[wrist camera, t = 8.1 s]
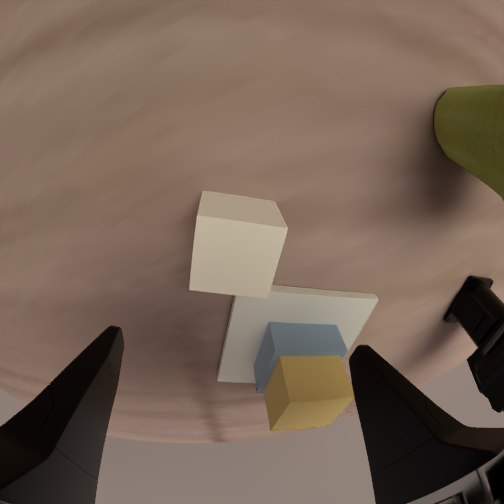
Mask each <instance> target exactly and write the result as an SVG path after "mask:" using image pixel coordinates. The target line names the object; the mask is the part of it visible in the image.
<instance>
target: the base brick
mask: <svg viewBox="0 0 504 504" xmlns="http://www.w3.org/2000/svg"><path fill="white" fill-rule="evenodd" d="M347 351H348V350H347V348H346V345H345V343H344V341H343V338H342V336H341V334H340V332H339V329H338V327H337V325H330V324H302V323H283V322H269V324H268V327H267V330H266V332H265V335H264V338H263V341H262V344H261V347H260V349H259V352H258V355H257V358H256V360H255V363H254V366H253V367H254V375H255V383H256V390H257V393H265V392H264V390H265V388H266V386H267V384H268V382H269V379H270V377H271V375H272V373H273V371H274V368H275V366H276V364H277V362H278V360H279V357H280V356H338V355H340V357H341V360H342V359H343V357H344V356H345V354H346V353H347Z"/></svg>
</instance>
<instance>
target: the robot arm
mask: <svg viewBox="0 0 504 504" xmlns="http://www.w3.org/2000/svg"><path fill="white" fill-rule="evenodd" d="M492 284H493V280H492V279H489V278H483V277H477V276H470V277H469V278H468V280H467V281H466V283H465V285H464V287H463V288H462V290H461V292H460V294H459V295H458V297H457V299H456V300H455V302H454V303H453V305H452V307H451V308H450V310H449V311H448V313H447V314H446V316H445V317H444V321H445V323H451V322H459V323H460V324H461V326H462V327H463V328H464V330H465V331H466V332H467V334H468V335H469V336H470V338H471V339H472V340H473V342H474V343H475V345H476V346H477V347H478V348H477V349H476V351H475V352H474V353H473V354H472V355H471V356H469V358H468V359H467V361H468V364H469V367H470V370H471V372H472V374H473V377H474V379H475V382H476V384H477V387H478V389H479V391H480V393H482V394H483V395H484V396H485V397H487V398H488V399H489V401H490V404H491V406H492V409H493V410H495V411H497V412H501V411H504V303H503V302H502V301H501V300H500V299H499V298H498V297H497V296H496V295H495V294H494V293H493V292H492V290H491V289H490V287H491V286H492ZM123 350H124V340H123V334H122V329H121V328H120V327H116V326H109V327H108V328H107V329H106V330H105V331H104V332H102V333H101V334H100V335H99V336H98V337H97V338H96V339H95V340H94V341H93V342H92V343H91V344H90V345H89V346H88V347H87V348H86V349H85V350H83V351H82V352H81V353H80V354H79V355H78V356H77V357H76V358H75V359H74V360H73V361H72V362H71V363H70V364H69V365H68V366H67V367H66V368H65V369H64V370H63V371H62V372H61V373H60V374H59V375H58V376H57V377H56V378H55V379H54V380H53V381H52V382H51V383H50V385H48V386H47V387H46V388H45V389H44V390H43V391H42V392H41V393H40V394H39V395H38V396H37V397H36V398H35V399H34V400H33V401H31V402H30V403H29V404H28V405H27V406H26V407H24V408H23V409H22V410H21V411H20V412H18V413H17V414H16V415H15V416H13V417H12V418H11V419H10V420H8V421H7V422H6V423H5V424H3V425H2V426H0V504H95V497H96V490H97V483H98V475H99V469H100V463H101V458H102V452H103V447H104V442H105V437H106V433H107V428H108V423H109V419H110V415H111V411H112V406H113V402H114V398H115V395H116V391H117V387H118V381H119V375H120V368H121V362H122V356H123ZM349 366H350V373H351V379H352V386H353V393H354V398H355V402H356V406H357V410H358V414H359V419H360V423H361V428H362V432H363V436H364V441H365V446H366V451H367V456H368V461H369V466H370V472H371V477H372V483H373V489H374V495H375V502H376V504H407V503H409V504H504V428H475V427H468V426H465V425H463V424H462V423H460V422H459V421H457V420H456V419H455V418H453V417H452V416H451V415H449V414H448V413H446V412H445V411H444V410H442V409H441V408H440V407H439V406H437V405H436V404H435V403H434V402H433V401H431V400H430V399H429V398H428V397H427V396H426V395H424V394H423V393H422V392H421V391H420V390H419V389H418V388H417V387H415V386H414V385H413V384H412V383H411V382H410V381H409V380H407V379H406V378H405V377H404V376H403V375H402V374H401V373H399V372H398V371H397V370H396V369H395V368H394V367H393V366H391V365H390V364H389V363H388V362H387V361H386V360H385V359H383V358H382V357H381V356H380V355H379V354H378V353H377V352H375V351H374V350H373V349H372V348H371V347H370V346H368V345H358V346H357V347H356V349H355V350H354V352H353V353H352V355H351V356H350V359H349Z"/></svg>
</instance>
